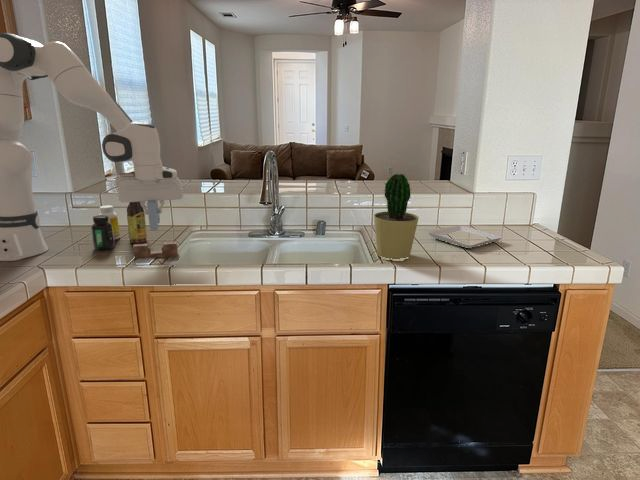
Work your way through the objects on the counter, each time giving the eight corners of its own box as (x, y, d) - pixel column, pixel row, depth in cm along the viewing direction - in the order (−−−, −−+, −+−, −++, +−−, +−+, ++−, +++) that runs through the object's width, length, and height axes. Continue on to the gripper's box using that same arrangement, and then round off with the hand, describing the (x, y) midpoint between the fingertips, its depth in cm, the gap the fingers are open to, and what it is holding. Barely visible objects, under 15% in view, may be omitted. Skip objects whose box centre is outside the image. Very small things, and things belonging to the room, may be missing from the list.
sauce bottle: (141, 244, 163) (135, 192, 157) (126, 243, 164) (120, 191, 158) (150, 239, 169) (145, 189, 163) (136, 238, 170) (130, 188, 164)
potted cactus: (410, 250, 161) (417, 169, 153) (419, 264, 147) (427, 175, 138) (369, 249, 161) (373, 168, 153) (374, 263, 147) (379, 175, 138)
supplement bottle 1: (120, 235, 174) (117, 204, 170) (119, 240, 168) (115, 207, 164) (102, 236, 172) (98, 205, 168) (100, 241, 166) (95, 208, 162)
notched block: (134, 259, 147) (133, 246, 146) (135, 256, 149) (134, 244, 148) (177, 255, 151) (176, 243, 150) (177, 253, 153) (176, 241, 152)
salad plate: (502, 244, 171) (503, 236, 170) (469, 253, 160) (470, 244, 159) (458, 232, 188) (459, 224, 187) (425, 239, 176) (426, 231, 175)
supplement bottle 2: (102, 252, 154) (97, 219, 150) (90, 249, 157) (85, 217, 153) (118, 247, 159) (115, 215, 156) (106, 244, 162) (102, 213, 159)
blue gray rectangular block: (150, 230, 142) (146, 203, 139) (152, 220, 153) (149, 195, 150) (157, 229, 143) (154, 203, 140) (159, 220, 153) (157, 195, 151)
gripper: (113, 175, 136) (119, 217, 141) (180, 172, 142) (184, 213, 146) (116, 172, 142) (121, 213, 146) (180, 170, 148) (184, 209, 152)
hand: (153, 213), depth 146 cm, fingers closed on blue gray rectangular block, 2 cm apart
